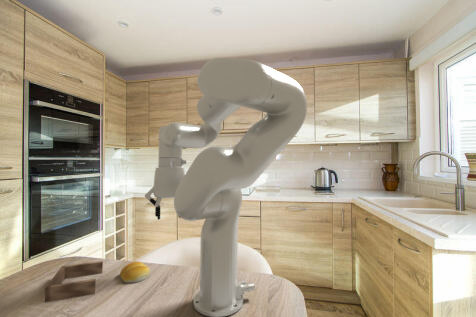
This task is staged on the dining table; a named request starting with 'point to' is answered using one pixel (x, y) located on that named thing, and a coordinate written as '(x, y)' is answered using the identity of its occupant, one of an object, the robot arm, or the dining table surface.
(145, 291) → the dining table surface
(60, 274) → the brown u-shaped frame
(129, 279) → the bread roll
